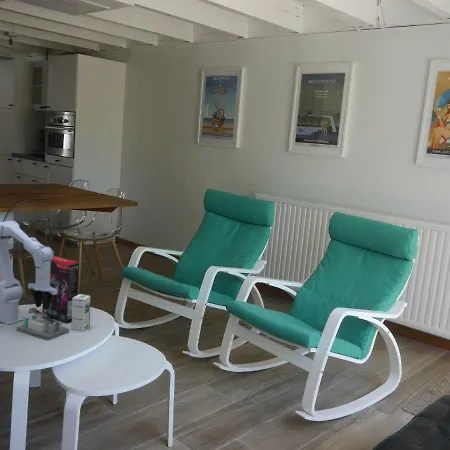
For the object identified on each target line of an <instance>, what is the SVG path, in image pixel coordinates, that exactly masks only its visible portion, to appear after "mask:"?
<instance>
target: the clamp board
mask: <svg viewBox="0 0 450 450" xmlns="http://www.w3.org/2000/svg"><path fill="white" fill-rule="evenodd" d="M55 321H56V320H55ZM56 322H58V325H55V326H54V325H52V324H49V323H48V322H46V321H44V320H43V319H41V318H40V317H38V316H37V315H35V314H31V320H30V319H29V317H23V324H21V325H18V326H16V327H15V328H16V329H15V330H16V331H17V332H20V333H24V334H26V335H31V336H32V337H36V338H39V339H43V340H46V341H50V340H53V339H56V338H58V337H60V336H64V335H65V334H68V333H70V328H68V327H64V326H62V323H63V321H60V320H57V321H56Z"/></svg>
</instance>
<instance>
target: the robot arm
mask: <svg viewBox="0 0 450 450" xmlns="http://www.w3.org/2000/svg"><path fill="white" fill-rule="evenodd" d="M20 227H21V226H20V224H19V223H18V222H17V221H16V220H8V221H0V322H1V323H3V324H5V325H11V324H14V323H17V322H20V321H24V318H21V317H19V305H20V304H19V301H21V298H22V297H23V295H24V289H23V287H22V285H21V282H20V281H19V280H18V279H16V278H15V276H14V270H13V266H12V261H11V256H10V251H9V245H8V243H9V241H10V240H11V239H13V238H15V239H16V240H17V241H18V242H20V243H22V244H23V248H24V249H25V250H26V252H29V253H30V255H32V259H33V261H34V266H35V283H34V282H31V283H27V284H28V285H27V288H28V289H30V290H31V289H32V290H31V291H30V294H31V296H32V297H33V301H34V304H35V308H40V307H41V308H42V305H43V309H44V310H45V309H48V306H49V303H50V300H51V298H52V297H53V295H55V294H57V289H54V288H53V287H51V286H50V264H51V260H52V259H53V257H54V256H55V254H54V250H53V249H52V248H51V247H50V246H45V245H43V244H41V243H40V241H38V240H37V238H36V237H29V235H28V234H26V233H25V232H24V231H23V229H21V228H20ZM43 292H45V293H43Z"/></svg>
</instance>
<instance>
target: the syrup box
mask: <svg viewBox="0 0 450 450" xmlns="http://www.w3.org/2000/svg"><path fill="white" fill-rule="evenodd" d="M90 317H91V295H87V294H82V293H81V294H80V293H78V295H77V296H75V297H73V298H72V321H71V330H74V331H75V330H76V331H82V332H85V331H86V330H87V329H89V328H90V326H91V325H90V324H91V323H90V322H91V321H90V319H91V318H90Z"/></svg>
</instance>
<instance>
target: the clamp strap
mask: <svg viewBox="0 0 450 450" xmlns="http://www.w3.org/2000/svg"><path fill="white" fill-rule="evenodd" d="M27 313H28V314H29V315H32V314H33V315H37V318H39V317H40V318H41V319H43V320H44V321H46V322H48V323H49V324H52V325H54V326H55V325H58V322H56V320H55V319H54V318H51V317H48V316H46V315H47V314H45V313H44V312H42V311H40V310H39V309H38V308H37V307H31V308H30V307H29V308H28V312H27Z"/></svg>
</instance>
